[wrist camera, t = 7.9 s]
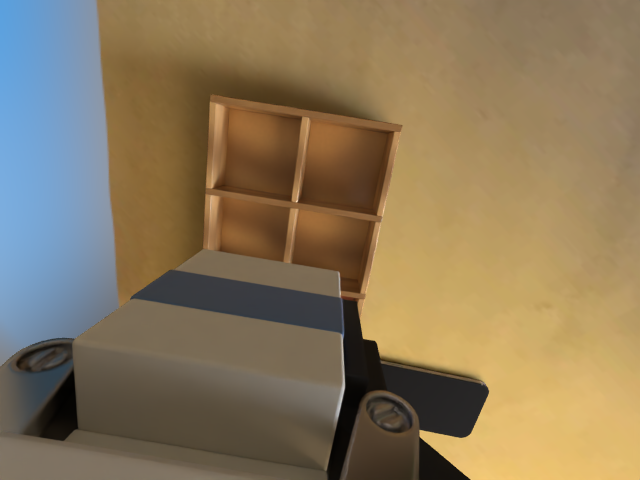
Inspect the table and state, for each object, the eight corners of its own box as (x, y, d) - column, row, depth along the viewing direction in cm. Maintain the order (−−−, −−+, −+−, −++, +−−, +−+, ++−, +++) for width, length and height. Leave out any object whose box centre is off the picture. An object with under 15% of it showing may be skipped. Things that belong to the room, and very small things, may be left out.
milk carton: (202, 246, 10) (26, 365, 4) (341, 269, 10) (350, 419, 4) (195, 365, 12) (52, 579, 6) (318, 385, 12) (303, 622, 6)
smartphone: (468, 440, 33) (333, 413, 33) (465, 434, 34) (333, 408, 33) (492, 385, 31) (348, 356, 31) (489, 381, 32) (348, 352, 31)
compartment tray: (226, 102, 25) (209, 94, 22) (393, 129, 25) (402, 125, 22) (213, 320, 31) (198, 341, 28) (348, 342, 31) (350, 366, 28)
